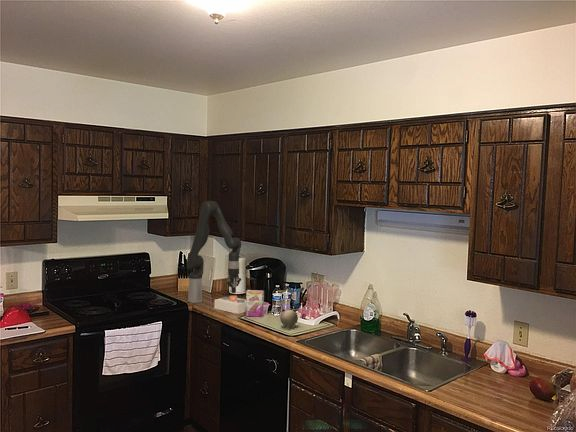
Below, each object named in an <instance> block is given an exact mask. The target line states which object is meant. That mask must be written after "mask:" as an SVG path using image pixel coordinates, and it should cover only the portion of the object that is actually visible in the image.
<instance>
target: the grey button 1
mask: <svg viewBox="0 0 576 432" xmlns="http://www.w3.org/2000/svg"><path fill="white" fill-rule="evenodd" d="M221 298H222V299H223V300H229V299H230V297H229V296H222V297H221Z"/></svg>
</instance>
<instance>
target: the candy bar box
mask: <svg viewBox="0 0 576 432" xmlns="http://www.w3.org/2000/svg"><path fill="white" fill-rule="evenodd" d="M245 300H246V312H245V317H251V318H253V317H254V318H264V315H265V313H264V311H265V310H264V309H265V290H255V289H247V290H246V291H245Z"/></svg>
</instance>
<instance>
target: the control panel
mask: <svg viewBox="0 0 576 432" xmlns="http://www.w3.org/2000/svg"><path fill="white" fill-rule="evenodd" d="M230 296H231V295H229V296H228V297H230ZM237 300H245V303H237V301H235V302H232V301H230V299H229V300H223V299H222V297H221V298H216V299H214V309H215V310H220V311H225V312H229V313H233V314H241V313H246V298H245V299H244V298H239V297H237Z"/></svg>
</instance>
